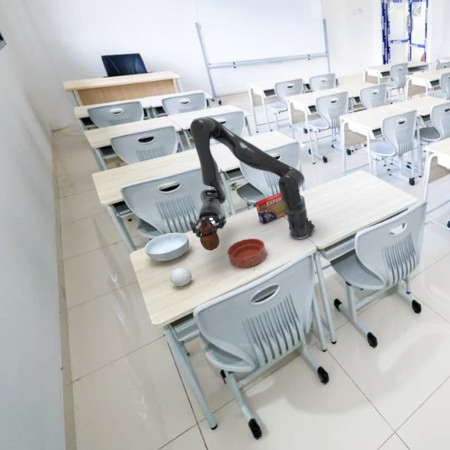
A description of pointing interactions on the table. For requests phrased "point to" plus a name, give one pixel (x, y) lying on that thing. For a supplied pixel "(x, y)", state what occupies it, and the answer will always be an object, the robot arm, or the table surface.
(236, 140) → the robot arm
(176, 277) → the white oval solid
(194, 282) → the table surface
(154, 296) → the table surface
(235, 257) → the bowl
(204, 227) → the wooden figurine
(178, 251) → the cereal bowl
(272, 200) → the toy box
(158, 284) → the table surface
